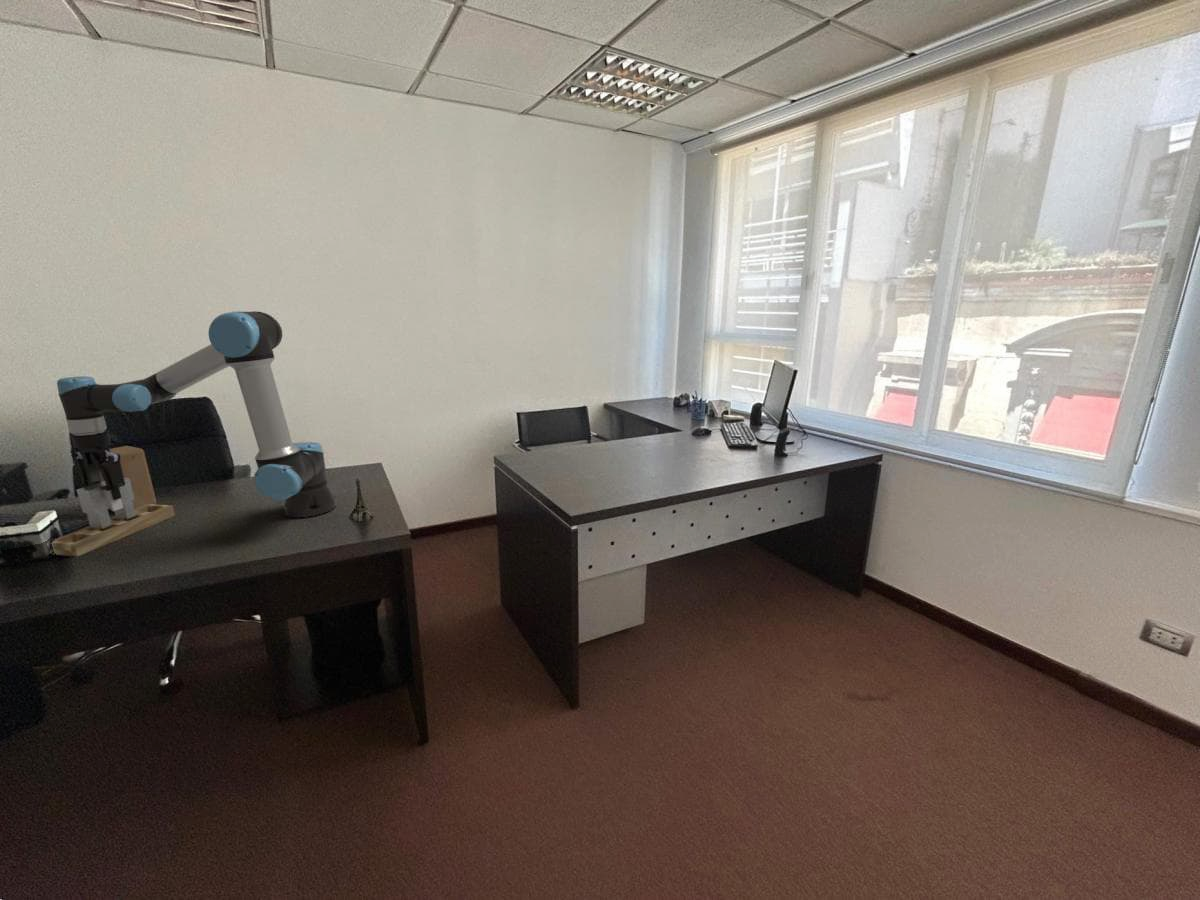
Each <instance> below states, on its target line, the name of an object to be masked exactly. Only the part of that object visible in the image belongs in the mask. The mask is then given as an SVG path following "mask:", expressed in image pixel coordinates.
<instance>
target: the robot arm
mask: <svg viewBox="0 0 1200 900" xmlns="http://www.w3.org/2000/svg"><path fill="white" fill-rule="evenodd" d="M282 329H283V328H282V327H281V325H280V323H279V321H278V320H277V319H276V318H275V317H273V316H272V315H270V314H268V313H266V312H262V311H230V312H226V313H222V314H220V315H218V316H216V317H215V318H214V319H213V320H212V321H211V323H210V325H209V327H208V334H207V335H208V339H209V341H210V344H209V345H207V346H205V347H203V348H201V349H199V350H198V351H195V352H194V353H192V354H190V355H188V356H186V357H184V358H182V359H180V360H179V361H176V362H174V363H172V364H170V365H169V366H167V367H165V368H163V369H161V370H159V371H158V372H156V373H153V374H151V375H150V376H148V377H146V378H143V379H138V380H134V381H128V382H121V383H116V384H100V383H99V384H98V383H97V382H96V380H95V378H94V377H92V376H86V375H85V376H82V375H81V376H71V377H70V376H68V377H62V378H59V379H57V380H56V385H57V390H58V396H59V400H60V402H61V405H62V408H63V410H64V415H65V418H66V419H65V420H66V423H67V427H68V431H69V433H70V434H72V435H71V436H70V437H71V441H72V444H73V447H74V448H76V449H79V450H78V452H74V453H71V454H70V455H71V456H70V457H72V459H73V460H74V462H75V465H76V469H77V472H78V476H79V478H80V481H81V484H82V486H84V487H87V486H90V485H93V484H97V483H100V482H101V480H100V472H101V474H102V476H103V478H104V481H105V483H106V485H107V487H108V489H105V490H106V493H107V496H108V500H109V504H110V507H111V509H110V510H111V512H114V511H116V510H119V509H121V508H123V504H122V501H121V494H120V490H119V488H120V487H121V486H124V485H125V481H124V477H123V472H122V468H121V464H120V457H121V456H120V454H113V453H111V451H110V450H109V449H110V448H109V445H110V444H111V442H112V441H111V436H110V432H109V431H108V430H107V429H108V427H107V424H106V419H105V416H104V412H128V413H133V412H143V411H145V410H147V409H148V408H149V407H150V406H151V405H153V404H157V403H164V402H167V401H169V400H172V399H173V398H175V397H176V395H177V394H178V393H180V392H183V391H184V390H186V389H188V388H190V387H192V386H194V385H195V384H197V383H199V382H201V381H203V380H206V379H207V378H209V377H211V376H214V375H215V374H217V373H218V372H219V373H220V371H223V370H224V369H227V368H229V367H230V368H231V369H233V370H234V371H235V374H236V379H237V382H238V384H239V388H240V391H241V395H242V399H243V401H244V405H245V408H246V412H247V414H248V418H249V420H250V425H251V427H252V431H253V434H254V439H255V441H256V445H257V447H258V452H257V453H256V455H255V456H254V460H255V463H256V466H257V469H256V470H255V473H254V475H253V485H254V486H255V488H256V490H257V491H258V492H259V493H260V494H261V495H262V496H265V497H267V498H269V499H272V500H282V501H283V500H285V504H284V512H285V515H286V516H287V517H289V518H297V519H301V518H300V517H305V518H310V517H309V516H313V517H316V516H315V515H318V516H320V515H319V514H321V515H323V514H322V513H325V512H327V513H329V512H331V511H333V510H334V509H335V508H336V507H337V499H336V497H335V496H334V494H333V492H332V490H331V488H330V486H329V484H328V478H327V469H326V463H325V455H324V454H325V453H324V450H323V447H322V444H321V443H319V442H314V441H313V442H312V441H308V442H307V441H305V442H293V440H292V438H291V434H290V430H289V427H288V423H287V419H286V416H285V412H284V409H283V406H282V405H283V404H282V402H281V399H280V395H279V391H278V387H277V384H276V380H275V377H274V373H273V370H272V369H273V368H272V367H271V364H272V362H273V361H274V360H275V354H274V351H273V350H274V349H275V348H277V347H278V346H279V345H280V344H281V342H282V339H283V330H282ZM103 463H105V464H103ZM335 506H336V507H335ZM334 507H335V508H334ZM333 508H334V509H333ZM332 509H333V510H332ZM330 510H331V511H330ZM328 511H329V512H328ZM325 514H326V513H325Z"/></svg>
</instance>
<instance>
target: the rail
mask: <svg viewBox="0 0 1200 900" xmlns="http://www.w3.org/2000/svg"><path fill="white" fill-rule="evenodd" d="M135 513H136V516H134V517H132V518H129V519H122V518H116V515H115V516H112V517H110V521H111V524H112V525H111V526H108V527H106V528H103V529H99V528H91V527H90V525H88V526H86V527H84V528H81V529H78V530H75V531H72V532H70V533H68V534H65V535H61V536H60V537H57V539H56V538H54V539H55V540H54V539H53V540H54V541H53V542H52V543H51V544H52V547H53V551H54V553H55V554H56V556H59V555H60V556H65V557H66V556H69V557H80V556H83V555H84V554H87V553H90V552H92V551H94V550H96V549H99V548H101V547H104V546H106V545H109V544H111V543H113V542H116V541H118V540H121V539H123V538H125V537H128V536H130V535H133V534H135V533H137V532H140V531H141V530H144V529H146V528H149V527H152V526H154V525H156V524H158V523H161V522H163V521H165V520H168V519H170V518H173V517H175V516H176V514H175V509H174V505H170V504H169V505H168V504H157V503H156V504H147V505H144V506H141V507H139V508H136V509H135ZM55 554H54V555H55Z"/></svg>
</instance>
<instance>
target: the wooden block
mask: <svg viewBox="0 0 1200 900" xmlns="http://www.w3.org/2000/svg"><path fill="white" fill-rule="evenodd" d="M109 450H110V451H111V453H113V454H120V456H121V457H120V464H121V468H122V472H123V477H124V478H129V479H130V483H131V487H132V491H133V495H134V499H135V500H132V502H133V505H134V509H136V508H139V507H141V506H144V505H147V504H157V499H156V494H155V491H154V487H153V483H152V478H151V475H150V470H149V467H148V463H147V459H146V455H145V450H143V448H139V447H136V446H135V447H134V446H129V445H124V446H119V447H118V446H117V447H113V448H109ZM103 464H105V463H103ZM100 480H101V482H103V481H104V478H103V476H102V474H101V472H100ZM109 510H111V508H110V509H109Z"/></svg>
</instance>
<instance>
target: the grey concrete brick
mask: <svg viewBox="0 0 1200 900" xmlns="http://www.w3.org/2000/svg"><path fill="white" fill-rule="evenodd" d="M124 481H125V485H124V486H121V487H120V488H119V490H120V494H121V501H122V504H123V508H121V509H119V510H116V511H113V512H114V515H115V516H116V518H122V519H129V518H132V517H134V516H136V513H135V509H134V505H133V502H132V500H135V499H134V495H133V491H132V487H131V483H130V479H129V478H124ZM105 489H108V487H107V485H106V483H105V481H103V482H100V483H97V484H93V485H90V486H84V487H81V488H78V489H76V493H77V496H78V500H79V503H80V507H81V510H82V513H83V514H86V517H87V520H88V524H89V526H90V527H91V528H99V529H103V528H106V527H108V526H111V525H112V524H111V521H110V518H111V516H110V514H109V510H111V509H110V508H111V507H110V504H109V500H108V496H107V493H106V490H105Z"/></svg>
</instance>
